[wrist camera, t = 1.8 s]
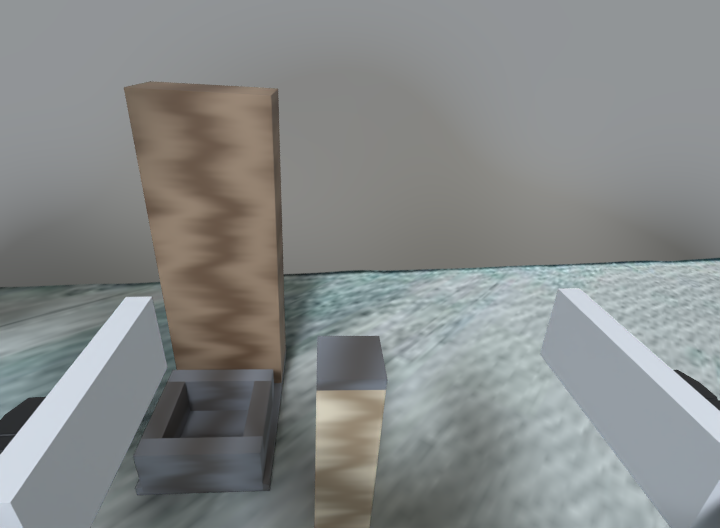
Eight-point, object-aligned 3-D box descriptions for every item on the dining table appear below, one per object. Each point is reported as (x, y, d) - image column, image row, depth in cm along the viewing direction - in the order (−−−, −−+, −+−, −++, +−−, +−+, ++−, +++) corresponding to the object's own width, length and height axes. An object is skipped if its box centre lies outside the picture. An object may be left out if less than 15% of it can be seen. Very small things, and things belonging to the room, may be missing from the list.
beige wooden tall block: (314, 534, 30) (316, 379, 23) (315, 483, 34) (317, 336, 27) (369, 531, 31) (387, 379, 24) (364, 481, 34) (378, 336, 27)
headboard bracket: (137, 494, 32) (21, 109, 19) (196, 350, 47) (155, 80, 34) (269, 490, 33) (245, 120, 20) (286, 350, 48) (279, 87, 35)
